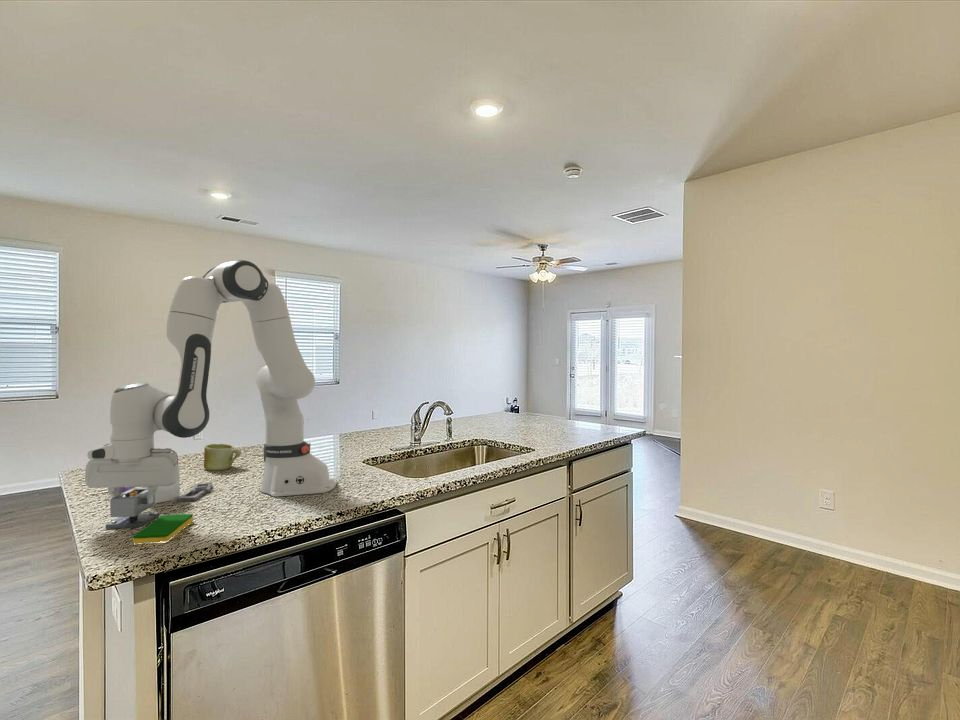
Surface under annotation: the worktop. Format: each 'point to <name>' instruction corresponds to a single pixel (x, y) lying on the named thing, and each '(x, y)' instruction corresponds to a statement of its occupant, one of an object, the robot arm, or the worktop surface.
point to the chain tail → (196, 492)
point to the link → (129, 503)
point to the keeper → (132, 519)
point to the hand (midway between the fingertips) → (133, 503)
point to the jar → (167, 491)
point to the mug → (219, 456)
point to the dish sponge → (163, 528)
